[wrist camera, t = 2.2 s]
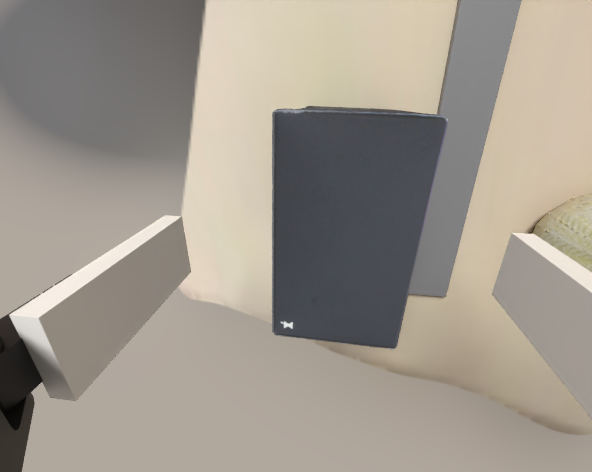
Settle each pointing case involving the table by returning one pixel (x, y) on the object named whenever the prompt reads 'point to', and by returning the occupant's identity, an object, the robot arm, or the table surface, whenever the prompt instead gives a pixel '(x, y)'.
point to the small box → (348, 219)
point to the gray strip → (462, 132)
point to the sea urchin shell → (570, 229)
